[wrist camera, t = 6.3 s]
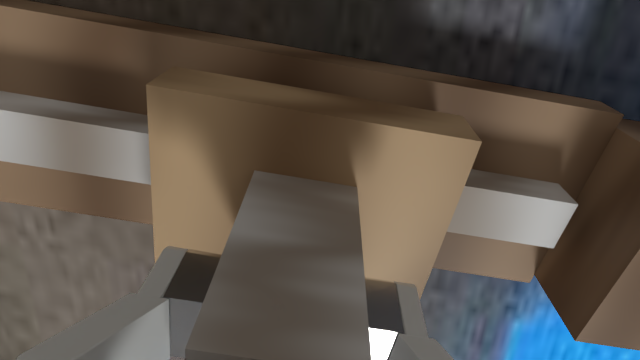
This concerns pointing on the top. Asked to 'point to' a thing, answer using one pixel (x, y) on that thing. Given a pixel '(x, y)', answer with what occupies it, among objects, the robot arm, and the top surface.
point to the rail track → (349, 80)
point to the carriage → (298, 206)
